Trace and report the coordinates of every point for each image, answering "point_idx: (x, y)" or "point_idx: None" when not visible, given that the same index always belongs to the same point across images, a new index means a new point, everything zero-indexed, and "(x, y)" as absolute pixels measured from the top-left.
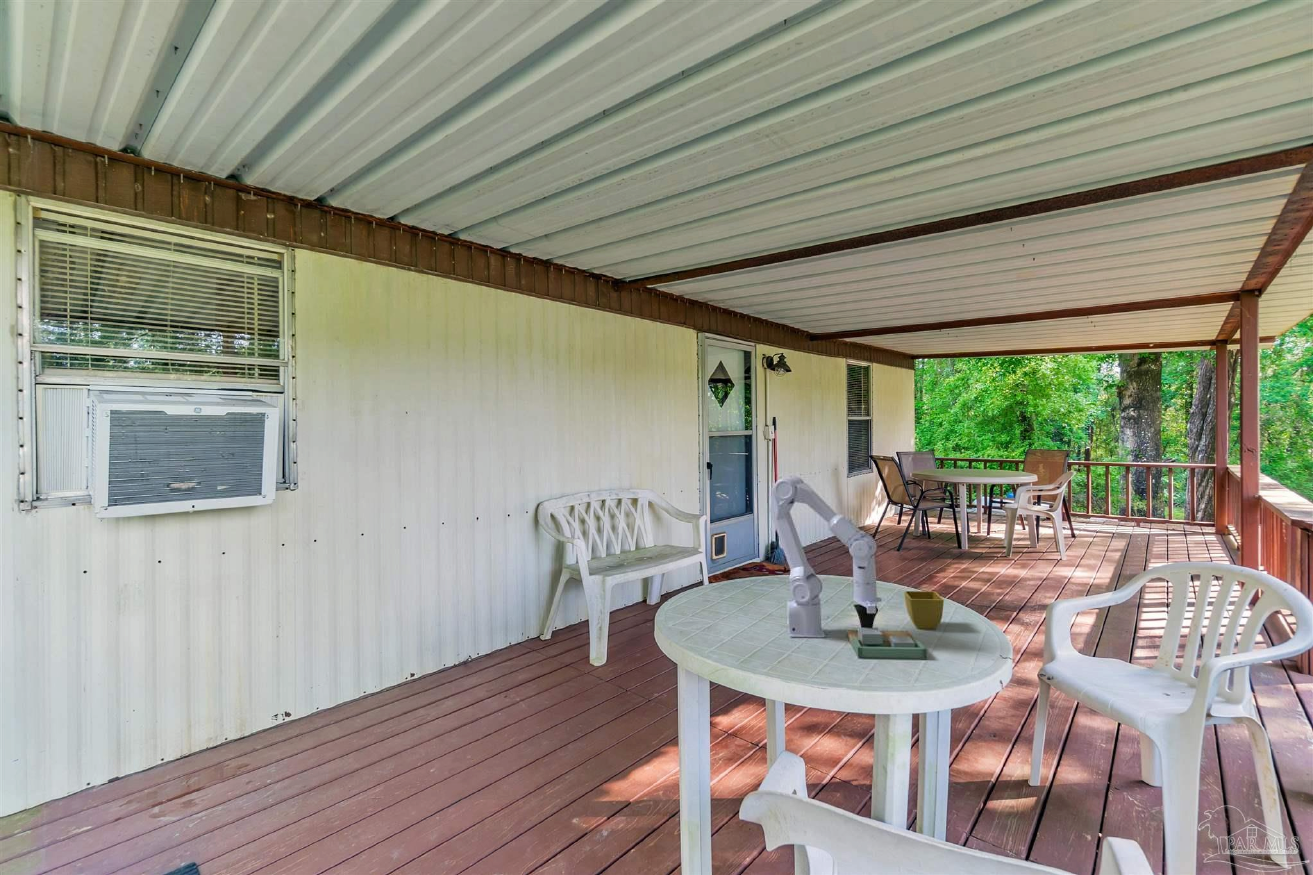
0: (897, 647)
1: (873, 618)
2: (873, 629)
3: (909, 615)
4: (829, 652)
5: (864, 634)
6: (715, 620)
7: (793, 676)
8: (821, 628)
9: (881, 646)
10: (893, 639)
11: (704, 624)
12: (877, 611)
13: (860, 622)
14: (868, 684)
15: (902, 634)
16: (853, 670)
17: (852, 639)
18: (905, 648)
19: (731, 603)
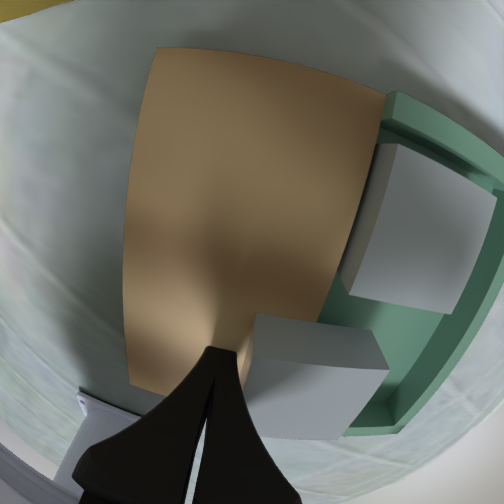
0: (479, 310)
1: (260, 444)
2: (284, 387)
3: (3, 20)
4: (306, 448)
5: (341, 432)
6: None
7: (390, 478)
8: (123, 428)
9: (335, 310)
10: (419, 296)
11: None
12: (299, 501)
13: (200, 434)
14: (492, 399)
15: (229, 110)
16: (438, 419)
17: None
18: (502, 280)
19: (3, 410)
